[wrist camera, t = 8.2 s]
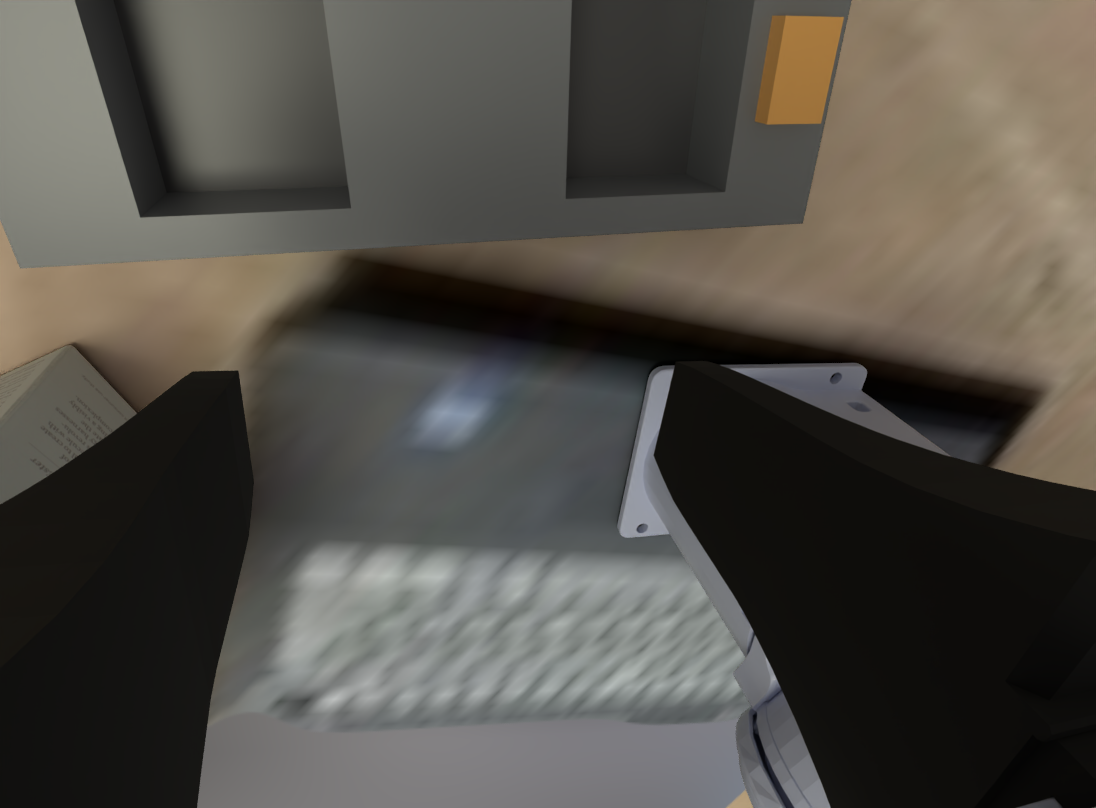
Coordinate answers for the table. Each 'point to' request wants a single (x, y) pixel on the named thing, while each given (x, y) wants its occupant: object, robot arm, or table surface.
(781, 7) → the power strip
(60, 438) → the small box
